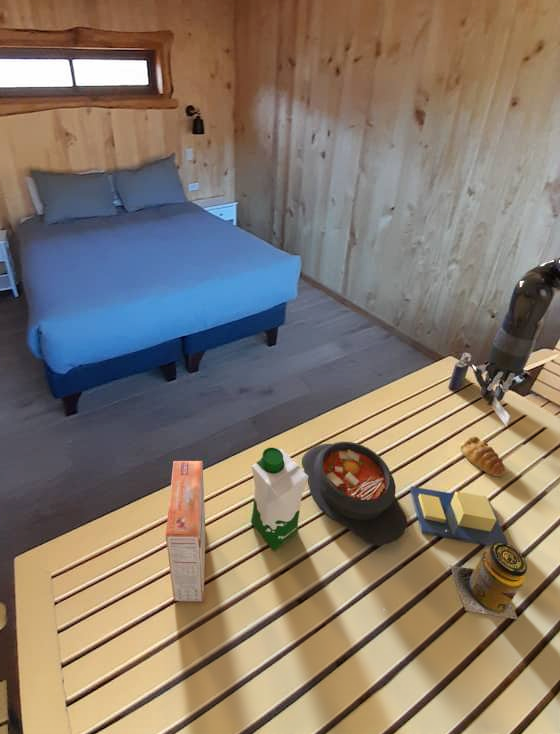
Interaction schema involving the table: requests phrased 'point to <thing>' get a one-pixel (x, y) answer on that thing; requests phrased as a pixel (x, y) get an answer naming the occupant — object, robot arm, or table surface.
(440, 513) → the butter pat
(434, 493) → the butter dish
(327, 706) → the table surface
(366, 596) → the table surface
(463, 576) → the condiment
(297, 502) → the milk carton
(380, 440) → the table surface
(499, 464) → the pastry
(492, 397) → the knife
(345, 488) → the casserole
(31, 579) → the table surface
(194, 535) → the cracker box
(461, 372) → the flask
